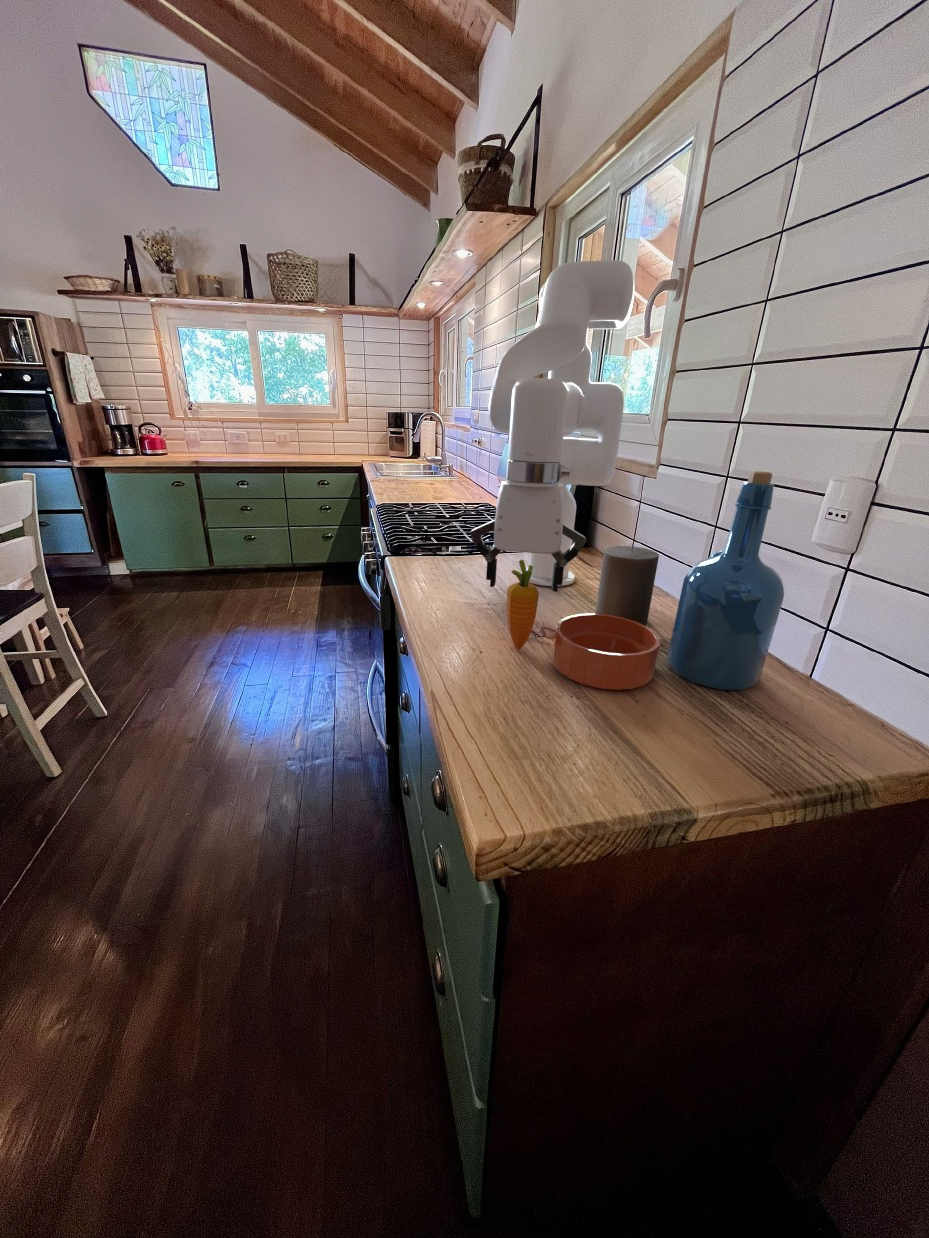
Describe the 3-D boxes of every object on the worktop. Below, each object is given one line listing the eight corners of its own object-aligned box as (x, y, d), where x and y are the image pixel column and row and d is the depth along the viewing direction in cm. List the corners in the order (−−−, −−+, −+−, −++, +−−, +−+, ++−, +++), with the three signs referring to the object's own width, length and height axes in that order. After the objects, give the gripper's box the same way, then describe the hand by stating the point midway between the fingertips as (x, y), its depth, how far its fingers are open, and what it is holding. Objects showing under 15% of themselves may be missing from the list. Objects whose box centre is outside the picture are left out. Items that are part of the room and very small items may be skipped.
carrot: (532, 657, 80) (540, 568, 74) (501, 654, 80) (507, 565, 75) (534, 644, 84) (542, 559, 78) (505, 641, 85) (511, 556, 79)
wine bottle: (769, 701, 70) (837, 481, 58) (668, 684, 73) (714, 473, 61) (748, 659, 82) (801, 470, 70) (663, 646, 85) (700, 464, 74)
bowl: (550, 642, 85) (553, 610, 83) (641, 650, 83) (647, 617, 81) (554, 687, 71) (558, 650, 69) (663, 697, 70) (671, 659, 67)
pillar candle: (651, 633, 90) (667, 553, 84) (596, 629, 91) (608, 549, 85) (640, 613, 99) (654, 540, 93) (591, 610, 100) (601, 536, 94)
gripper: (591, 474, 74) (577, 583, 80) (475, 468, 76) (471, 575, 82) (597, 479, 67) (581, 598, 74) (470, 473, 69) (465, 590, 75)
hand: (523, 586), depth 78 cm, fingers open, 9 cm apart
